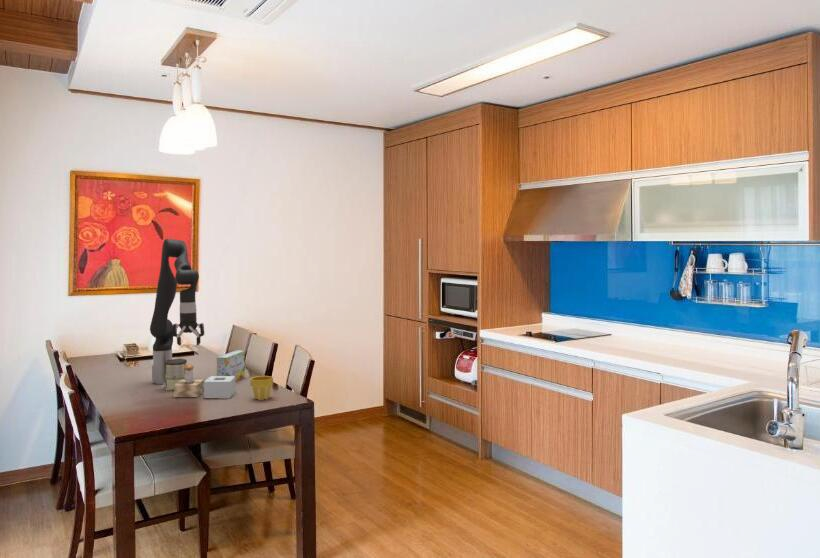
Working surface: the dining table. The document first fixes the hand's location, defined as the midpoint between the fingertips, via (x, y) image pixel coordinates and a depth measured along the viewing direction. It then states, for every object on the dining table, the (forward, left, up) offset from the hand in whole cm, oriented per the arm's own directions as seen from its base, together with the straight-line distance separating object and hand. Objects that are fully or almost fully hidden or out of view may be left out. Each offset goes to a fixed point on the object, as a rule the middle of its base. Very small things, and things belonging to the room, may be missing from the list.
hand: (188, 345), depth 296 cm
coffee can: (-10, +13, -24) cm, 29 cm away
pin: (0, 0, -24) cm, 24 cm away
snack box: (+14, +27, -24) cm, 39 cm away
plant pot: (+36, -9, -24) cm, 44 cm away
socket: (+15, -2, -24) cm, 28 cm away
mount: (0, 0, -24) cm, 24 cm away
